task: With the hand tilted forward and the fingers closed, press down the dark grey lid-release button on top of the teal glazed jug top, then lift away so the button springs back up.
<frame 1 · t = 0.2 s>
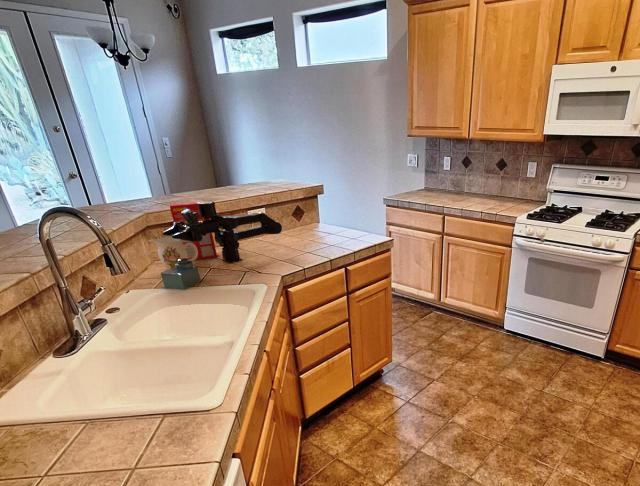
hand: (167, 235, 176), 17 cm above the counter, tool horizontal, fingers open, 9 cm apart
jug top: (183, 284, 171), on the counter
pitcher: (179, 269, 189), on the counter
lid button: (183, 261, 170), point 8 cm above the counter, slide at 0.1 cm
food packaging: (200, 257, 205), on the counter
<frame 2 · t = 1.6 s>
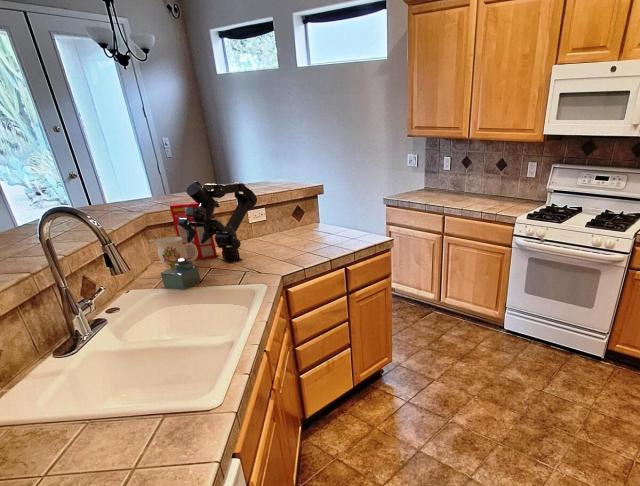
hand: (195, 243, 175), 14 cm above the counter, tool tilted 45°, fingers open, 6 cm apart
nothing on the counter moved.
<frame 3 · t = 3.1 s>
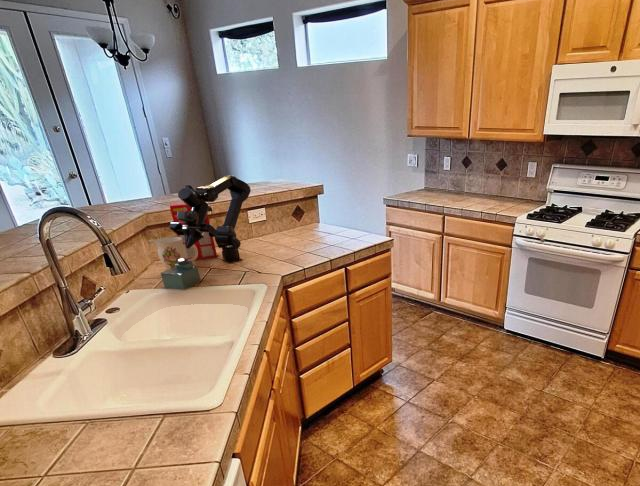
hand: (187, 248, 171), 13 cm above the counter, tool tilted 45°, fingers closed
nothing on the counter moved.
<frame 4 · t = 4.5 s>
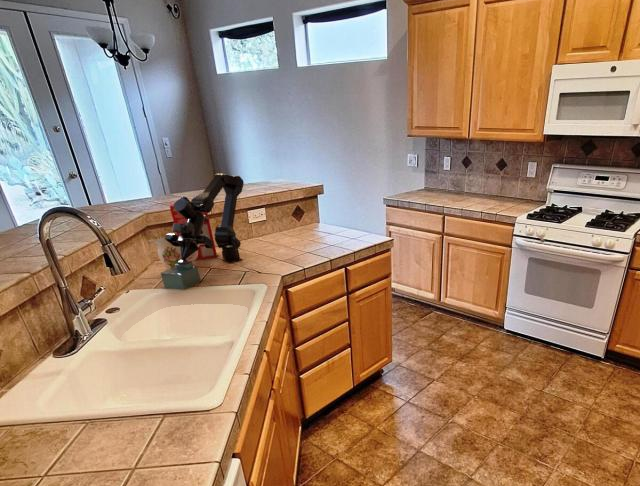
hand: (182, 259, 170), 9 cm above the counter, tool tilted 45°, fingers closed, pressing on lid button
lid button: (183, 262, 170), point 8 cm above the counter, slide at -0.4 cm, touching gripper
everything else where it was.
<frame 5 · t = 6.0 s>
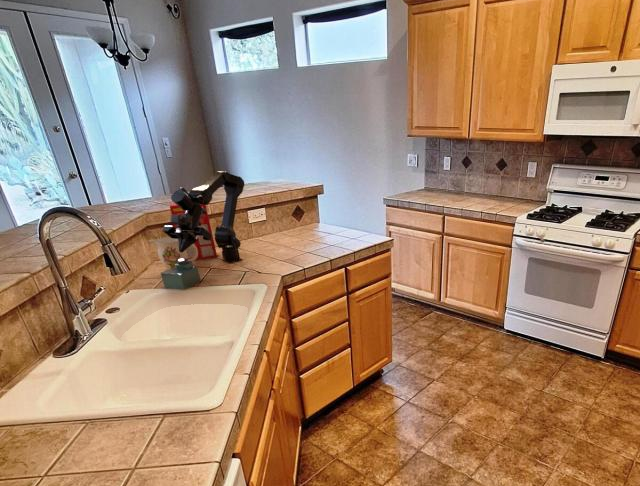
hand: (180, 251, 168), 12 cm above the counter, tool tilted 45°, fingers closed
lid button: (183, 261, 170), point 8 cm above the counter, slide at 0.1 cm
everything else where it was.
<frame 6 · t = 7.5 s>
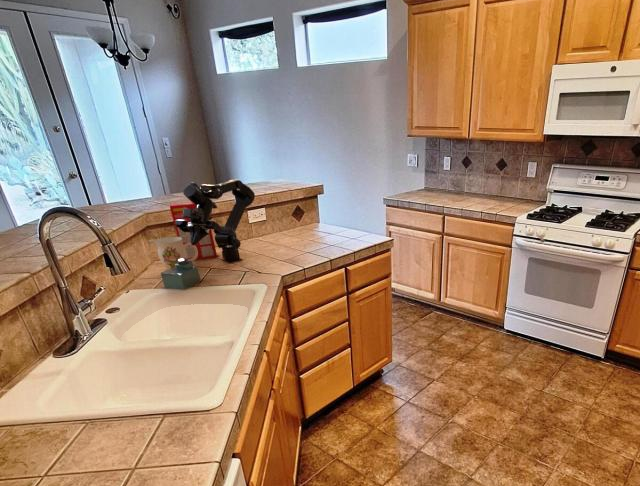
hand: (192, 244, 174), 13 cm above the counter, tool tilted 45°, fingers closed
nothing on the counter moved.
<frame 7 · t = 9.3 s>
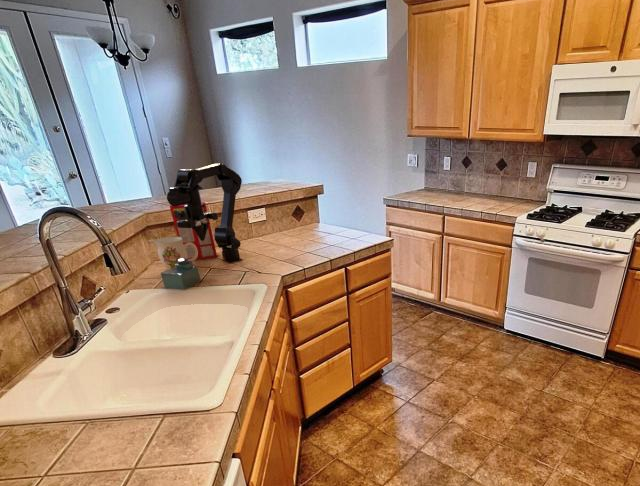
hand: (202, 240, 181), 13 cm above the counter, tool pointing down, fingers closed
nothing on the counter moved.
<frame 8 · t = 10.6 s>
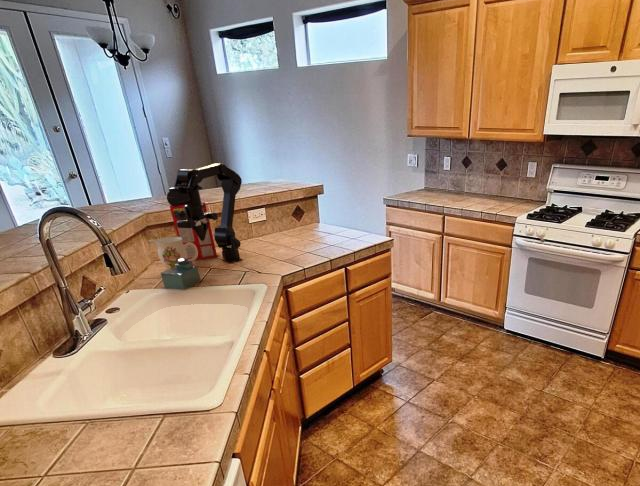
hand: (202, 240, 181), 13 cm above the counter, tool pointing down, fingers closed
nothing on the counter moved.
at the end: lid button pushed in 1.3 cm at the most during the clip, back to where it started at the end; lid button slide at 0.1 cm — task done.
